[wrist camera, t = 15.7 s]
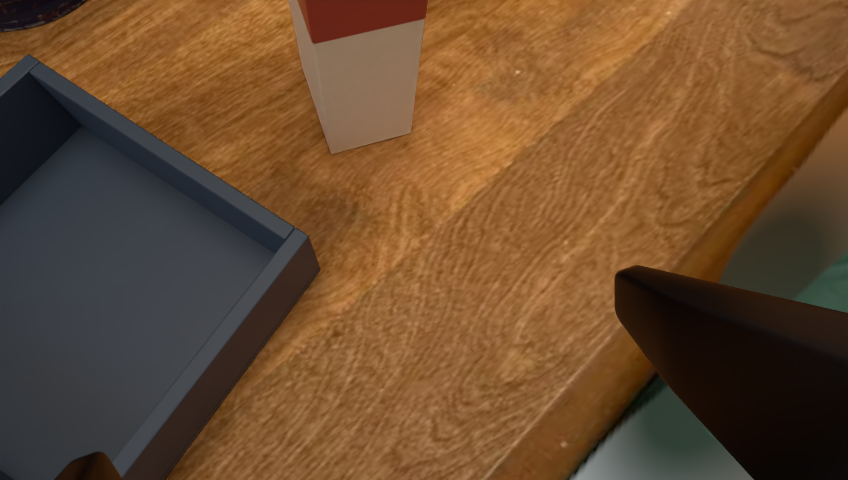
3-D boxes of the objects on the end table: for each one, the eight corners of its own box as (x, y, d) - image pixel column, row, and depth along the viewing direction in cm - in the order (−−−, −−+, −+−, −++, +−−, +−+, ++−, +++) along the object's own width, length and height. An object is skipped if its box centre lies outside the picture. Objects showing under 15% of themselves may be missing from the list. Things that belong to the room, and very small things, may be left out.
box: (320, 269, 24) (309, 235, 19) (102, 564, 19) (25, 602, 15) (86, 116, 25) (27, 53, 21) (-165, 360, 21) (-303, 343, 17)
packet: (411, 133, 26) (440, -89, 15) (330, 155, 25) (295, -61, 14) (379, 49, 28) (383, -212, 16) (301, 68, 27) (248, -193, 15)
